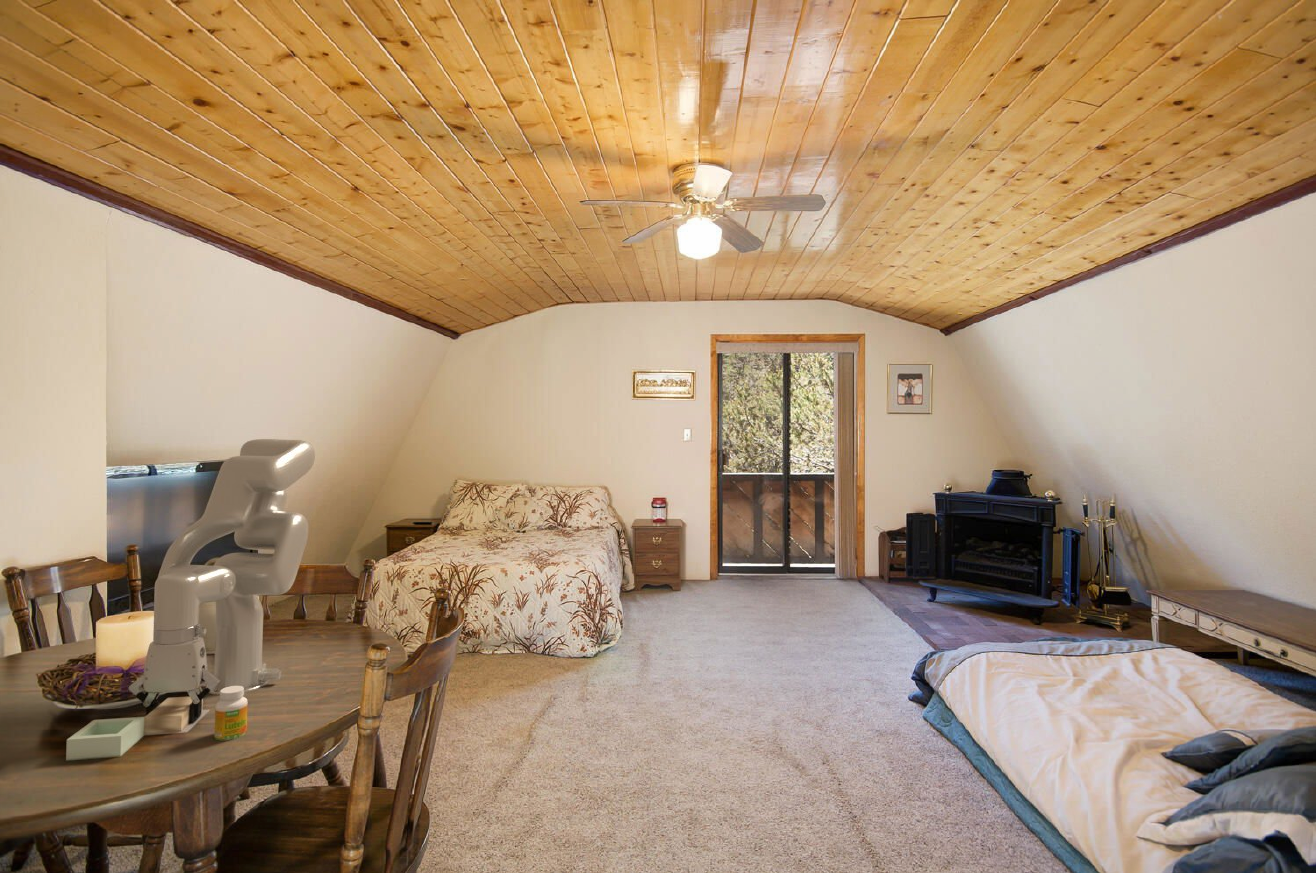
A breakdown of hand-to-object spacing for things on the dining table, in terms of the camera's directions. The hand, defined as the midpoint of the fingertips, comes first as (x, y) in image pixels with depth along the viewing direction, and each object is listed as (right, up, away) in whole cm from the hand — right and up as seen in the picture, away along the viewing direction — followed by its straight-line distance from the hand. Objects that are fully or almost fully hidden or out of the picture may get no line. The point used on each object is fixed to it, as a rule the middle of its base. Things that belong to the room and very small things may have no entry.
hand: (174, 721), depth 136 cm
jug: (-23, 0, +48) cm, 53 cm away
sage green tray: (-4, -1, -11) cm, 12 cm away
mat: (0, -1, 0) cm, 1 cm away
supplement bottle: (+14, -2, -5) cm, 15 cm away
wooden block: (0, 0, 0) cm, 0 cm away
